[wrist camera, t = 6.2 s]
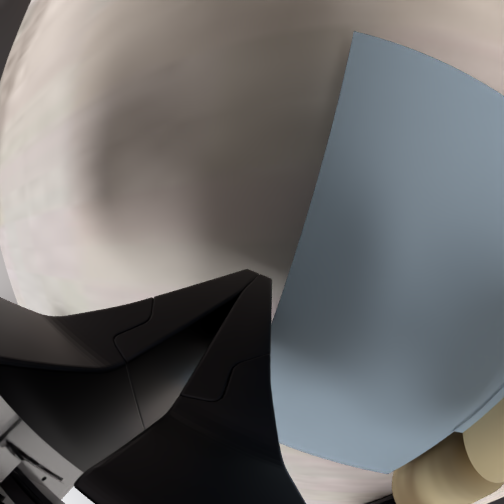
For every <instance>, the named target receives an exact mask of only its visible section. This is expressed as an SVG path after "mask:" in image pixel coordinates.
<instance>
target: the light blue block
mask: <svg viewBox="0 0 504 504" xmlns="http://www.w3.org/2000/svg"><path fill="white" fill-rule="evenodd" d="M270 356H271V388H272V398H273V405H274V412H275V419H276V426H277V432H278V439H279V443H280V444H283V445H286V446H288V447H291V448H294V449H297V450H299V451H302V452H305V453H308V454H311V455H314V456H317V457H321V458H324V459H327V460H331V461H334V462H338V463H341V464H345V465H349V466H353V467H357V468H361V469H365V470H370V471H375V472H379V473H385V474H389V473H391V472H392V471H394V470H396V469H398V468H400V467H401V466H403V465H405V464H407V463H408V462H410V461H412V460H413V459H415V458H416V457H418V456H420V455H421V454H423V453H424V452H426V451H427V450H429V449H430V448H432V447H433V446H435V445H436V444H437V443H439V442H440V441H442V440H443V439H444V438H446V437H447V436H449V435H450V434H451V433H453V432H454V431H455V432H461V433H463V439H464V445H465V448H466V452H467V454H468V457H469V459H470V461H471V463H472V465H473V467H474V468H475V469H476V471H477V472H478V473H479V474H480V475H481V476H482V477H483V478H485V479H486V480H488V481H490V482H494V483H501V482H504V96H503V95H501V94H500V93H498V92H497V91H495V90H494V89H492V88H490V87H489V86H487V85H485V84H484V83H482V82H480V81H479V80H477V79H475V78H473V77H472V76H470V75H468V74H466V73H464V72H462V71H460V70H458V69H456V68H454V67H452V66H450V65H448V64H446V63H444V62H442V61H440V60H437V59H435V58H433V57H430V56H428V55H426V54H423V53H421V52H418V51H416V50H413V49H410V48H408V47H405V46H402V45H399V44H397V43H394V42H391V41H387V40H384V39H381V38H378V37H374V36H371V35H367V34H363V33H360V32H356V31H354V34H353V38H352V43H351V48H350V52H349V57H348V62H347V66H346V70H345V75H344V79H343V83H342V87H341V92H340V96H339V100H338V104H337V108H336V112H335V116H334V120H333V124H332V128H331V132H330V135H329V139H328V143H327V147H326V150H325V154H324V158H323V161H322V165H321V169H320V172H319V176H318V179H317V183H316V186H315V190H314V193H313V197H312V200H311V203H310V207H309V210H308V213H307V217H306V220H305V223H304V227H303V230H302V233H301V236H300V240H299V243H298V246H297V249H296V252H295V255H294V259H293V262H292V265H291V268H290V271H289V274H288V277H287V280H286V283H285V286H284V289H283V292H282V295H281V298H280V301H279V304H278V307H277V310H276V313H275V316H274V319H273V321H272V324H271V354H270Z"/></svg>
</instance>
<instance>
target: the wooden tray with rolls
mask: <svg viewBox="0 0 504 504" xmlns="http://www.w3.org/2000/svg"><path fill="white" fill-rule="evenodd" d="M503 484H504V482H501V483H494V482H490V481H488V480H486V479H485V478H483V477H482V476H481V475H480V474H479V473H478V472H477V471H476V469H475V468H474V467H473V465H472V463H471V461H470V459H469V457H468V454H467V452H466V448H465V445H464V439H463V433H461V432H455V431H454V432H453V433H451V434H450V435H449V436H447V437H446V438H444V439H443V440H442V441H440V442H439V443H437V444H436V445H435V446H433V447H432V448H430V449H429V450H427V451H426V452H424V453H423V454H421V455H420V456H418V457H416V458H415V459H413V460H412V461H410V462H408V463H407V464H405V465H403V466H401V467H400V468H398V469H396V470H394V473H393V478H392V492H393V497H394V500H395V502H396V504H471V503H474V502H476V501H478V500H480V499H482V498H484V497H486V496H488V495H490V494H492V493H493V492H495V491H497V490H498V489H499V488H500V487H501V486H502V485H503Z"/></svg>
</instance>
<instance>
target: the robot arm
mask: <svg viewBox="0 0 504 504" xmlns="http://www.w3.org/2000/svg"><path fill="white" fill-rule="evenodd" d="M271 309H272V280H271V278H269V277H266V276H263V275H261V274H260V275H259V274H258V273H256V272H254V271H251V270H249V269H245V270H242V271H239V272H236V273H232V274H229V275H226V276H222V277H219V278H216V279H213V280H209V281H206V282H203V283H199V284H196V285H193V286H189V287H186V288H182V289H179V290H176V291H172V292H169V293H166V294H162V295H159V296H155V297H154V299H153V298H148V299H145V300H141V301H137V302H134V303H130V304H126V305H122V306H117V307H112V308H107V309H102V310H96V311H91V312H85V313H79V314H74V315H68V316H47V315H42V314H39V313H36V312H34V311H31V310H29V309H26V308H24V307H21V306H19V305H17V304H14V303H12V302H10V301H7V300H5V299H3V298H1V297H0V504H65V503H64V502H63V501H61V499H62V498H63V497H64V496H65V495H66V494H67V493H68V492H69V490H70V489H71V488H72V487H73V486H75V488H76V489H78V490H79V491H80V492H81V493H82V494H83V495H85V496H86V497H87V498H88V499H90V500H91V501H92V502H93V503H95V504H306V503H305V501H304V499H303V498H302V496H301V494H300V492H299V491H298V489H297V487H296V486H295V484H294V482H293V480H292V479H291V477H290V475H289V473H288V471H287V469H286V467H285V465H284V462H283V458H282V455H281V450H280V445H279V439H278V432H277V426H276V419H275V412H274V405H273V398H272V388H271V356H270V354H271ZM369 504H396V502H395V500H394V497H393V495H390V496H388V497H385V498H383V499H380V500H378V501H375V502H372V503H369Z"/></svg>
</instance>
